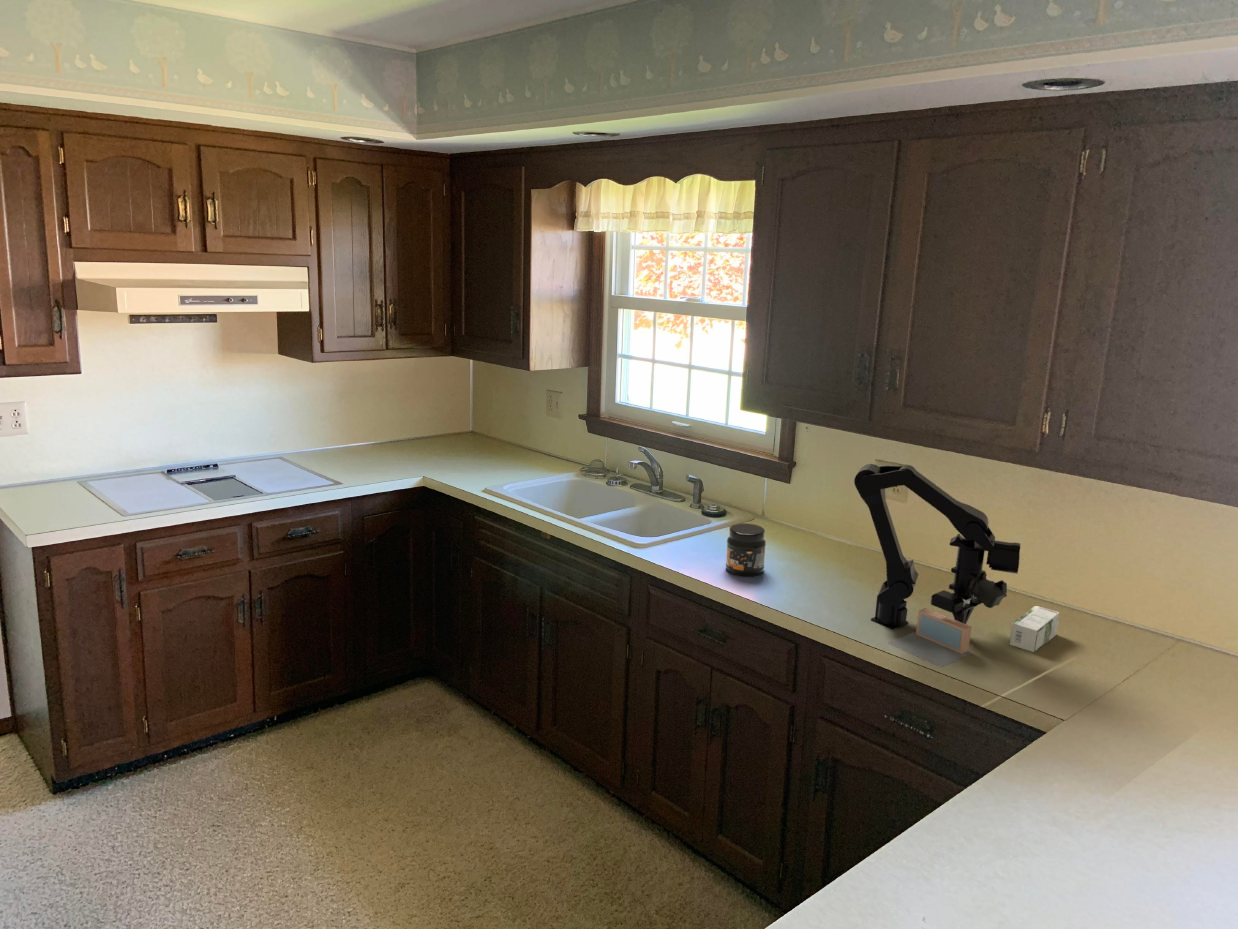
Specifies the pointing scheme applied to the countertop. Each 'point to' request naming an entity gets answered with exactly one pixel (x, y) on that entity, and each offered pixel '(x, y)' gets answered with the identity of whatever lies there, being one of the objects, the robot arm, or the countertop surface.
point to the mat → (927, 649)
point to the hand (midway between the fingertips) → (960, 628)
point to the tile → (943, 630)
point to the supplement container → (745, 549)
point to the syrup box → (1034, 628)
